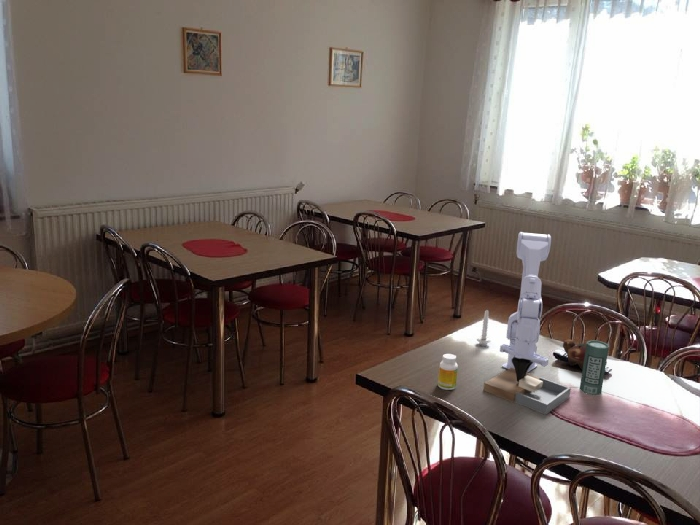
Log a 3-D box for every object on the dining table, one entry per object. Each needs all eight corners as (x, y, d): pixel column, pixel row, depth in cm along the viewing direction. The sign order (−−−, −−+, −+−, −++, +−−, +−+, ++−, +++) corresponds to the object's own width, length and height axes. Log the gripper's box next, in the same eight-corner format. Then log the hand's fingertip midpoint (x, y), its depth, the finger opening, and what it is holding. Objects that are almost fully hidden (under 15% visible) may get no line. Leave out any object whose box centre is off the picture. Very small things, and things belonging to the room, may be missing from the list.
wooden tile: (526, 381, 186) (527, 375, 186) (541, 387, 183) (543, 381, 182) (518, 386, 183) (519, 380, 182) (534, 392, 179) (535, 386, 179)
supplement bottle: (455, 391, 183) (458, 361, 181) (437, 389, 184) (439, 358, 182) (456, 383, 188) (459, 353, 186) (438, 381, 189) (441, 351, 187)
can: (601, 388, 190) (609, 343, 186) (600, 396, 184) (608, 349, 180) (580, 384, 192) (587, 338, 188) (578, 392, 187) (586, 345, 183)
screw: (492, 344, 220) (487, 348, 216) (479, 341, 222) (474, 345, 218) (496, 309, 216) (491, 313, 212) (482, 306, 219) (477, 310, 215)
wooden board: (510, 374, 196) (511, 367, 195) (539, 385, 189) (540, 378, 189) (483, 390, 185) (484, 382, 184) (513, 402, 178) (514, 394, 177)
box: (539, 386, 189) (540, 377, 188) (569, 397, 183) (570, 387, 182) (514, 402, 178) (515, 392, 178) (545, 414, 172) (547, 404, 171)
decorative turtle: (566, 356, 213) (570, 334, 211) (610, 370, 203) (614, 347, 201) (553, 363, 206) (556, 341, 204) (598, 379, 196) (602, 355, 194)
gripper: (496, 334, 183) (491, 376, 187) (542, 349, 174) (536, 393, 177) (508, 328, 188) (503, 370, 192) (553, 342, 179) (547, 386, 182)
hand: (520, 380), depth 185 cm, fingers closed
